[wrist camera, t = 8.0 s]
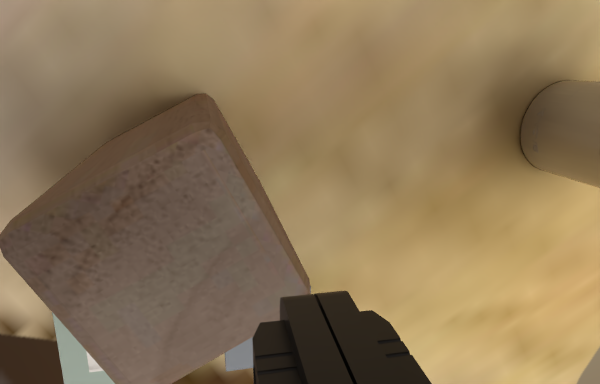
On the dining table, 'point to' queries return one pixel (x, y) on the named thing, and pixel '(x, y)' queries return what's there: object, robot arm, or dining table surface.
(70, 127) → the dining table surface
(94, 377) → the sage numbered cube
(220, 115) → the wooden block
